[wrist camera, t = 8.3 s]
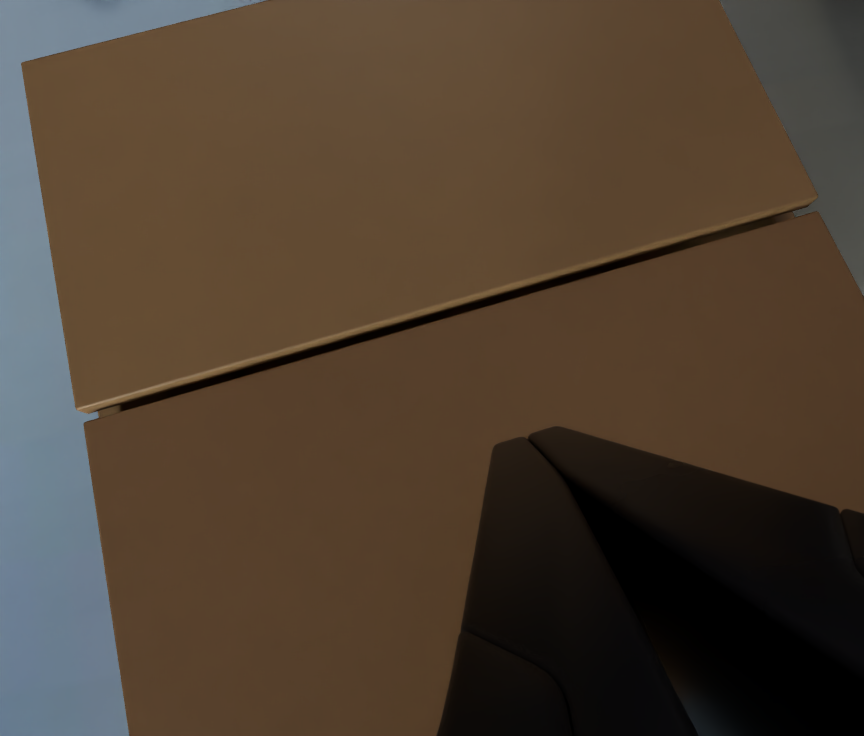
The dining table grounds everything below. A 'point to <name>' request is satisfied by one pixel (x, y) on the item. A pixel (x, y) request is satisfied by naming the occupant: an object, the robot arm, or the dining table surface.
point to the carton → (379, 172)
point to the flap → (443, 474)
